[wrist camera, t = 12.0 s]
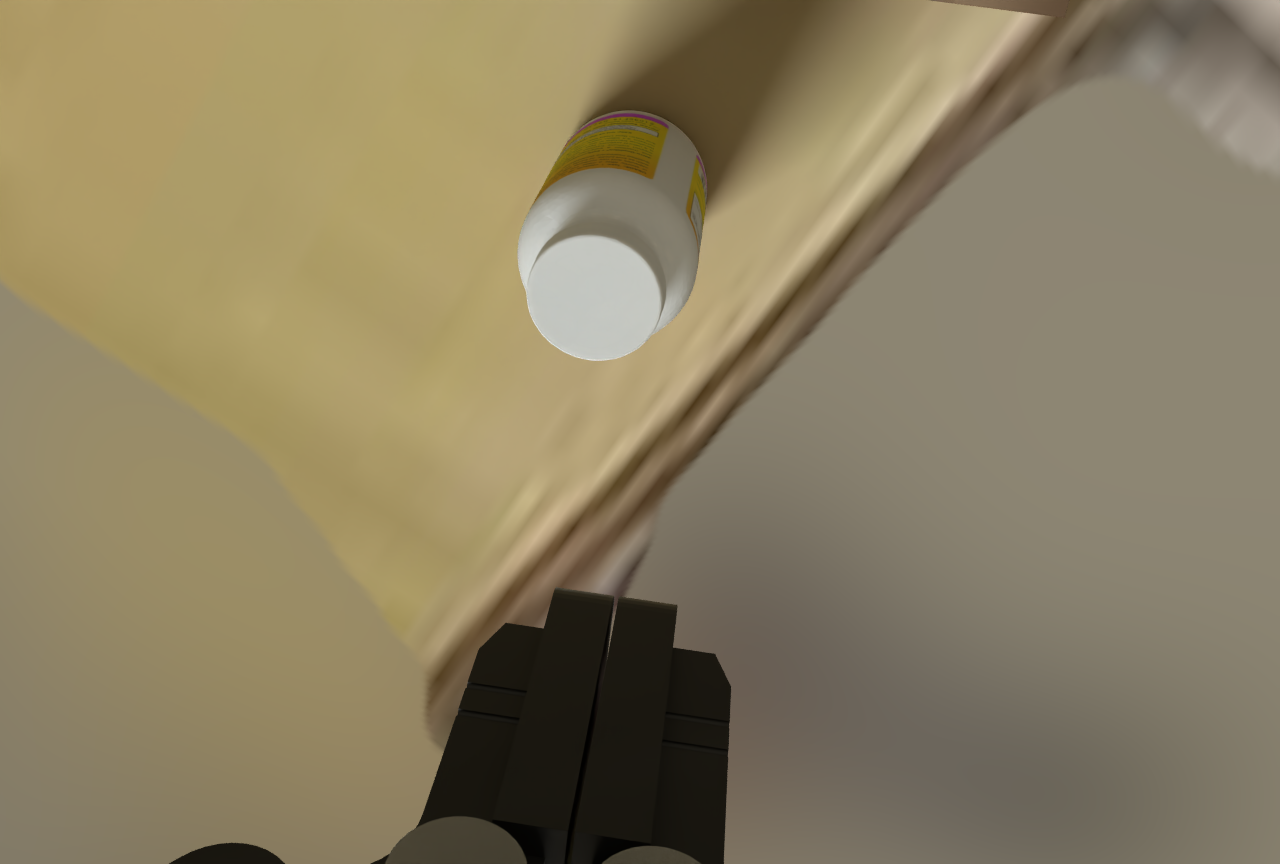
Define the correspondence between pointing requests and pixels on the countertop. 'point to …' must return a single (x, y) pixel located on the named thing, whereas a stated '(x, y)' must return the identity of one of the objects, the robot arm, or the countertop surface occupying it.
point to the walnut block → (1020, 5)
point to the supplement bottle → (614, 235)
